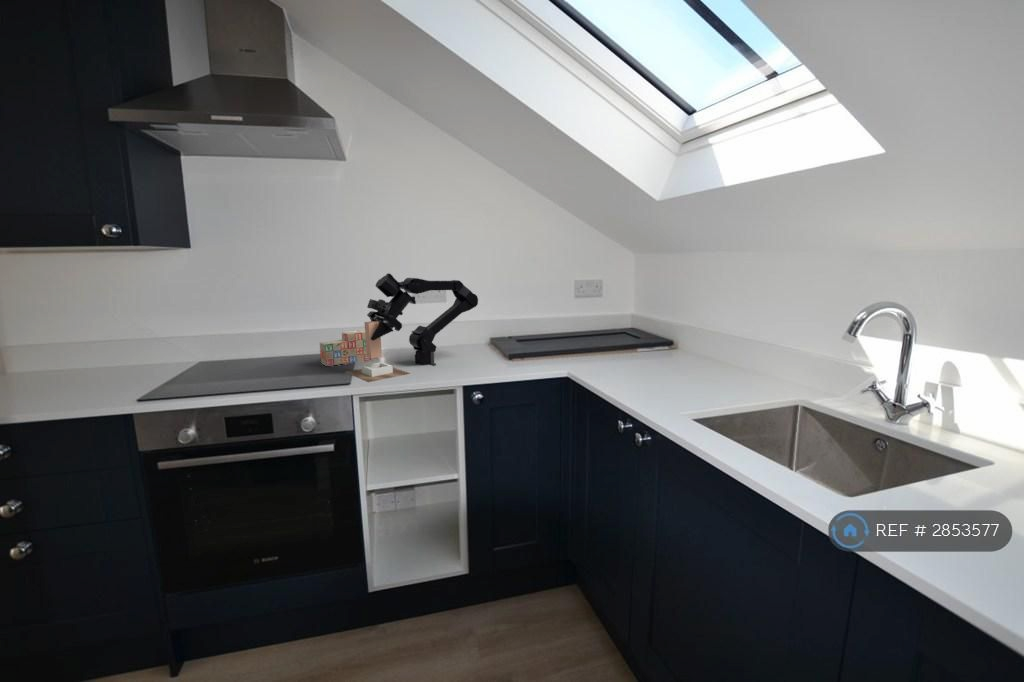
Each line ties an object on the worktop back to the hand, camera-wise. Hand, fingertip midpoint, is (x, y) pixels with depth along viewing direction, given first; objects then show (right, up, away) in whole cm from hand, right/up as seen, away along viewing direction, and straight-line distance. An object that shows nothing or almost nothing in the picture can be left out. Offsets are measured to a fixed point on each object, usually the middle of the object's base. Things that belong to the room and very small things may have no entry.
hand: (369, 338), depth 168 cm
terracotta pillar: (+1, -6, +2) cm, 7 cm away
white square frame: (+2, -12, +2) cm, 12 cm away
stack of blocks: (-15, -10, +25) cm, 30 cm away
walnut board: (+2, -13, +2) cm, 14 cm away
